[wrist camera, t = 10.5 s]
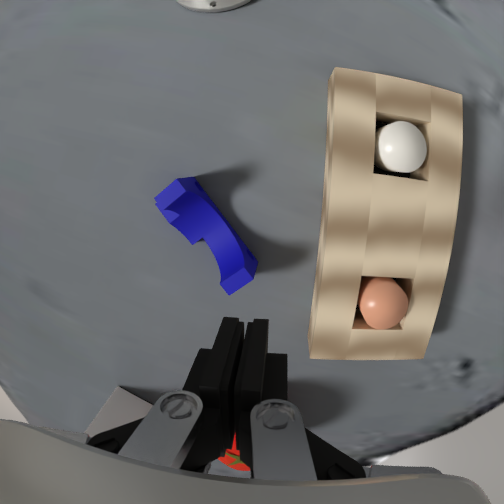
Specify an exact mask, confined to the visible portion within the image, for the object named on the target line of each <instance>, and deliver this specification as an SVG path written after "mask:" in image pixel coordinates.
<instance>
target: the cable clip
mask: <svg viewBox="0 0 504 504" xmlns="http://www.w3.org/2000/svg"><path fill="white" fill-rule="evenodd" d="M154 199H155V200H156V202H157V203H156V204H155V205H156V206H157V207H158V209H159V210H160V211H161V213H162V214H163V215H164V217H165V218H166V219H167V221H168V222H169V223H170V224H171V225H173V226H174V227H175V228H177V229H178V230H179V231H180V232H181V233H182V234H183V235H184V236H185V237H186V238H187V239H188V240H189V241H190V243H191V244H192V245H193V244H194V243H196V242H197V241H198V240H200V239H201V238H202V237H203V239H204V240H205V241H206V243H207V244H208V246H209V247H210V249H211V251H212V252H213V254H214V256H215V258H216V260H217V263H218V266H219V269H220V273H221V282H220V285H221V286H222V287H223V289H224V290H225V291H226V292H227V294H228V295H231V294H232V293H234V292H235V291H237V290H238V289H240V288H241V287H243V286H244V285H246V284H247V283H249V282H250V281H252V280H253V279H254V275H255V272H256V268H257V264H258V261H257V260H256V258H255V257H254V256H253V254H252V253H251V252H250V250H249V249H248V248H247V246H246V245H245V244H244V242H243V241H242V240H241V238H240V237H239V236H238V235H237V233H236V232H235V231H234V229H233V228H232V227H231V225H230V224H229V223H228V221H227V220H226V219H225V217H224V216H223V215H222V213H221V212H220V211H219V209H218V208H217V207H216V206H215V204H214V203H213V202H212V200H211V199H210V198H209V196H208V195H207V194H206V192H205V191H204V190H203V188H202V187H201V186H200V184H199V183H198V182H197V180H196V179H195V178H194V177H187V178H178V179H176V180H175V181H173V182H172V183H171V184H170V185H169V186H168V187H166V188H165V189H164V190H163V191H162V192H161V193H160V194H158V195H157V196H156V197H155V198H154Z"/></svg>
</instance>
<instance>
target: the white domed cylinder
mask: <svg viewBox="0 0 504 504" xmlns="http://www.w3.org/2000/svg"><path fill="white" fill-rule="evenodd" d="M426 152H427V147H426V141H425V139H424V136H423V134H422V133H421V132H420V130H419V129H418V128H417V127H416V126H414V125H413V124H411V123H409V122H405V121H397V122H394V123H391V124H388V125H386V126H383V127H381V128H378V129H376V130H375V152H374V164H375V165H376V166H377V167H378V168H380V169H382V170H384V171H392V172H412V171H415V170H416V169H418V168H419V167H420V166H421V165H422V164H423V162H424V160H425V157H426Z"/></svg>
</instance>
